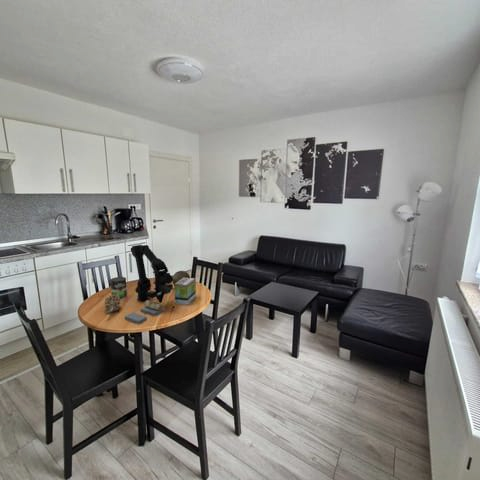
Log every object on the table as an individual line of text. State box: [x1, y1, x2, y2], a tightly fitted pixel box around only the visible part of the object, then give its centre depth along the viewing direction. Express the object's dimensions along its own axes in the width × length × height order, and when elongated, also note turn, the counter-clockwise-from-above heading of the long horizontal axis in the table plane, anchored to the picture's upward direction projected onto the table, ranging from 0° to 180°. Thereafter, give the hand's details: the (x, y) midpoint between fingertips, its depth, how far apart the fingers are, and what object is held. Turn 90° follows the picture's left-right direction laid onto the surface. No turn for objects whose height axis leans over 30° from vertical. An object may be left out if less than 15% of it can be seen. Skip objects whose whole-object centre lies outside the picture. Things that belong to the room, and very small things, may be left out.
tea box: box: [174, 277, 197, 306], centre depth 179 cm, size 15×10×15 cm
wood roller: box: [143, 299, 162, 310], centre depth 163 cm, size 4×11×4 cm, turn 61°
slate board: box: [124, 306, 165, 325], centre depth 158 cm, size 20×12×2 cm, turn 151°
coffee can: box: [109, 276, 128, 301], centre depth 183 cm, size 10×10×14 cm
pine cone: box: [104, 294, 122, 314], centre depth 160 cm, size 22×10×10 cm, turn 21°
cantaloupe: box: [171, 270, 191, 287], centre depth 200 cm, size 14×14×15 cm
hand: (160, 302), depth 169 cm, fingers closed
